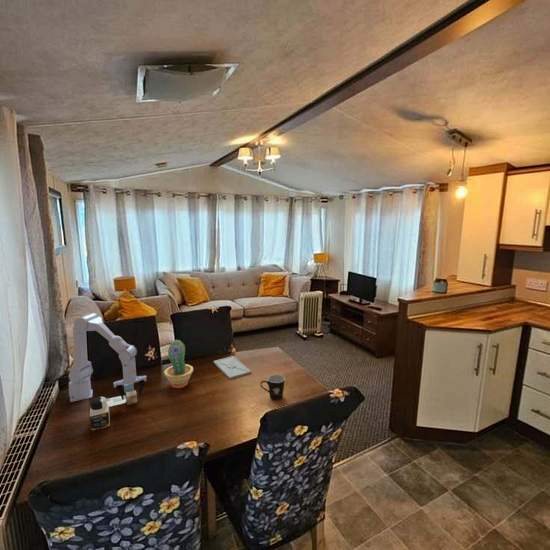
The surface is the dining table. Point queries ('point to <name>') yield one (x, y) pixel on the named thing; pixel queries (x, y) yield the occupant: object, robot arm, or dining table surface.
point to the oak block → (131, 397)
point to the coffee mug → (275, 386)
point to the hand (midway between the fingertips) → (131, 396)
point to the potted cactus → (178, 365)
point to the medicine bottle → (99, 413)
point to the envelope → (232, 367)
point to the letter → (116, 400)
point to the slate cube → (128, 388)
